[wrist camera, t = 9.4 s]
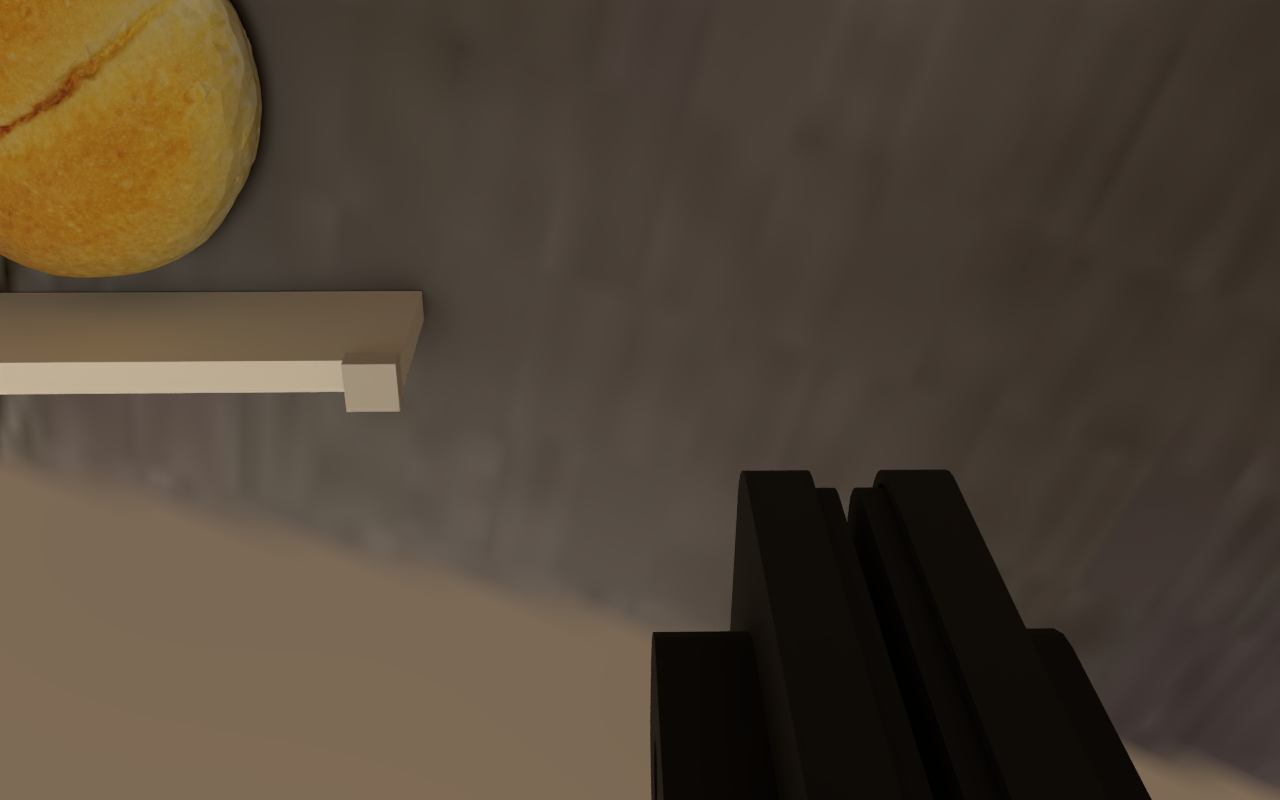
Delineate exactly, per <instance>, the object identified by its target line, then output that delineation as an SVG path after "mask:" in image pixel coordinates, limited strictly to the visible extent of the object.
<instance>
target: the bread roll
mask: <svg viewBox="0 0 1280 800" xmlns="http://www.w3.org/2000/svg"><path fill="white" fill-rule="evenodd" d="M261 113H262V100H261V88H260V83H259V77H258V71H257V68H256V64H255V61H254V58H253V54H252V47H251V44H250V42H249V39H248V38H247V36H246V32H245V30H244V28H243V27H242V24H241V22H240V19H239V17H238V15H237V12H236V11H235V9H234V7H233V5H232V3H231V2H230V1H229V0H0V254H1V255H3V256H5V257H7V258H8V259H10V260H13V261H15V262H17V263H19V264H21V265H23V266H25V267H28V268H32V269H35V270H38V271H42V272H45V273H48V274H51V275H56V276H66V277H77V278H90V277H111V276H122V275H129V274H135V273H141V272H145V271H149V270H152V269H156V268H159V267H161V266H163V265H166V264H168V263H171V262H173V261H176V260H178V259H180V258H181V257H183V256H185V255H186V254H188V253H189V252H191V251H193V250H194V249H196V248H197V247H198V246H200V245H201V244H203V243H204V242H205V241H207V239H208V238H209V237H210V236H211V235H212V234H213V233H214V232H215V231H216V229H217V228H218V227H219V226H220V225H221V224H222V222H223V220H224V219H225V217H226V215H227V214H228V212H229V211H230V209H231V207H232V206H233V204H234V201H235V199H236V197H237V196H238V194H239V193H240V191H241V190H242V188H243V186H244V184H245V182H246V180H247V178H248V175H249V172H250V168H251V166H252V164H253V162H254V160H255V159H256V154H257V148H258V143H259V137H260V124H261Z"/></svg>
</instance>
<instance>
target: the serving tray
mask: <svg viewBox="0 0 1280 800" xmlns="http://www.w3.org/2000/svg"><path fill="white" fill-rule="evenodd" d="M423 322H424V312H423V299H422V291H301V292H80V293H0V394H114V393H247V392H344V394H345V403H346V411H347V412H398V411H400V410H401V406H402V403H403V399H404V398H403V389H404V386H405V382H406V379H407V376H408V372H409V369H410V365H411V362H412V359H413V355H414V352H415V349H416V345H417V342H418V338H419V335H420V332H421V328H422V325H423Z"/></svg>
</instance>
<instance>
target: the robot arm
mask: <svg viewBox="0 0 1280 800" xmlns="http://www.w3.org/2000/svg"><path fill="white" fill-rule="evenodd" d="M650 715H651V716H650V718H651V719H650V727H651V728H650V729H651V730H650V736H651V737H650V740H651V741H650V742H651V795H652V800H1151V798H1150V796H1149V794H1148V792H1147V790H1146V788H1145V786H1144V784H1143V782H1142V781H1141V778H1140V776H1139V774H1138V773H1137V771H1136V769H1135V767H1134V765H1133V763H1132V761H1131V759H1130V757H1129V755H1128V753H1127V751H1126V749H1125V748H1124V746H1123V744H1122V742H1121V740H1120V738H1119V736H1118V734H1117V732H1116V730H1115V728H1114V726H1113V724H1112V722H1111V721H1110V719H1109V717H1108V715H1107V713H1106V711H1105V709H1104V707H1103V705H1102V703H1101V701H1100V699H1099V697H1098V696H1097V694H1096V692H1095V690H1094V688H1093V686H1092V684H1091V682H1090V680H1089V678H1088V676H1087V674H1086V672H1085V670H1084V669H1083V667H1082V665H1081V663H1080V661H1079V659H1078V657H1077V655H1076V653H1075V651H1074V649H1073V647H1072V646H1071V645H1070V643H1069V642H1068V640H1067V639H1066V637H1065V636H1064V634H1062V633H1061V632H1059V631H1057V630H1055V629H1054V628H1045V629H1026V627H1025V625H1024V623H1023V621H1022V619H1021V617H1020V615H1019V613H1018V611H1017V609H1016V606H1015V604H1014V602H1013V600H1012V598H1011V596H1010V594H1009V592H1008V590H1007V588H1006V585H1005V583H1004V581H1003V579H1002V577H1001V575H1000V573H999V571H998V569H997V567H996V565H995V562H994V560H993V558H992V556H991V554H990V552H989V550H988V548H987V546H986V544H985V542H984V539H983V537H982V535H981V533H980V531H979V529H978V527H977V525H976V523H975V521H974V518H973V516H972V514H971V512H970V510H969V508H968V506H967V504H966V502H965V500H964V498H963V495H962V493H961V491H960V489H959V487H958V485H957V483H956V481H955V479H954V477H953V475H952V474H951V473H950V471H948V470H880V471H879V472H878V473H877V474H876V477H875V480H874V484H873V488H854V489H853V491H852V494H851V497H850V504H849V512H848V521H847V520H846V517H845V514H844V511H843V507H842V504H841V501H840V498H839V495H838V492H837V490H836V489H835V488H815V485H814V482H813V478H812V476H811V473H810V472H809V471H807V470H790V471H742V472H741V474H740V480H739V489H738V504H737V522H736V539H735V557H734V574H733V592H732V609H731V627H730V631H720V632H653V635H652V655H651V713H650Z"/></svg>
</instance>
